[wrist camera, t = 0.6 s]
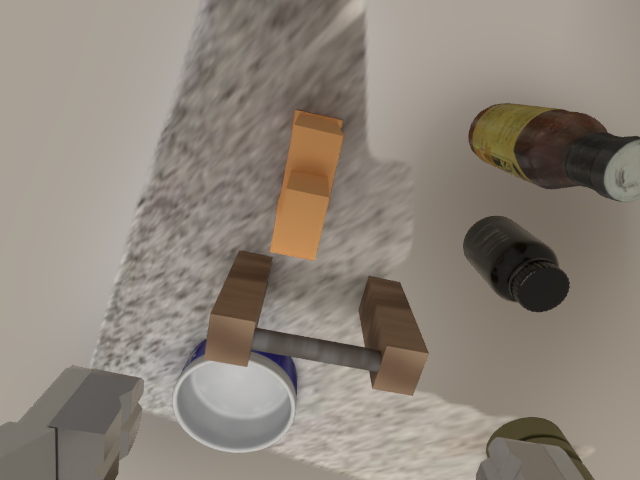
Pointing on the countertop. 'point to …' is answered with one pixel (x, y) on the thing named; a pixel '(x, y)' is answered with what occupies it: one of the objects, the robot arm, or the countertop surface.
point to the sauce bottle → (557, 149)
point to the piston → (539, 438)
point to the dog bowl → (236, 400)
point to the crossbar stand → (378, 332)
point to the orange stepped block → (307, 184)
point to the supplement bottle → (516, 264)
